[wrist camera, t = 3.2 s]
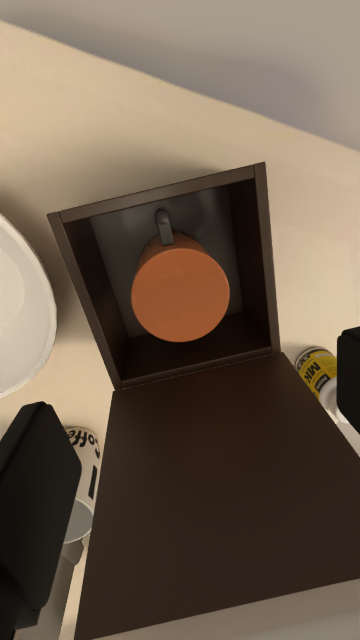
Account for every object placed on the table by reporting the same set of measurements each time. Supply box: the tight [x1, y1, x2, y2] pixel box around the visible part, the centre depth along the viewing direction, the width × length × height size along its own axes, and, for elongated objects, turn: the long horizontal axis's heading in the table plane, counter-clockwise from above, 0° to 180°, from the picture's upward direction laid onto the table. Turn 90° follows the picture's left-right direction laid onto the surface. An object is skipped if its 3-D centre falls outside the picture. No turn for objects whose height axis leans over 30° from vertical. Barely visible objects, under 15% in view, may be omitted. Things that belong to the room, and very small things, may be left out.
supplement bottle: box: [296, 347, 350, 424], centre depth 32 cm, size 5×5×8 cm
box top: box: [74, 352, 360, 640], centre depth 18 cm, size 15×15×6 cm
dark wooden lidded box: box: [47, 162, 281, 390], centre depth 25 cm, size 15×15×9 cm
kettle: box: [131, 208, 230, 342], centre depth 23 cm, size 11×6×11 cm, turn 12°
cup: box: [63, 427, 100, 544], centre depth 33 cm, size 8×8×10 cm
